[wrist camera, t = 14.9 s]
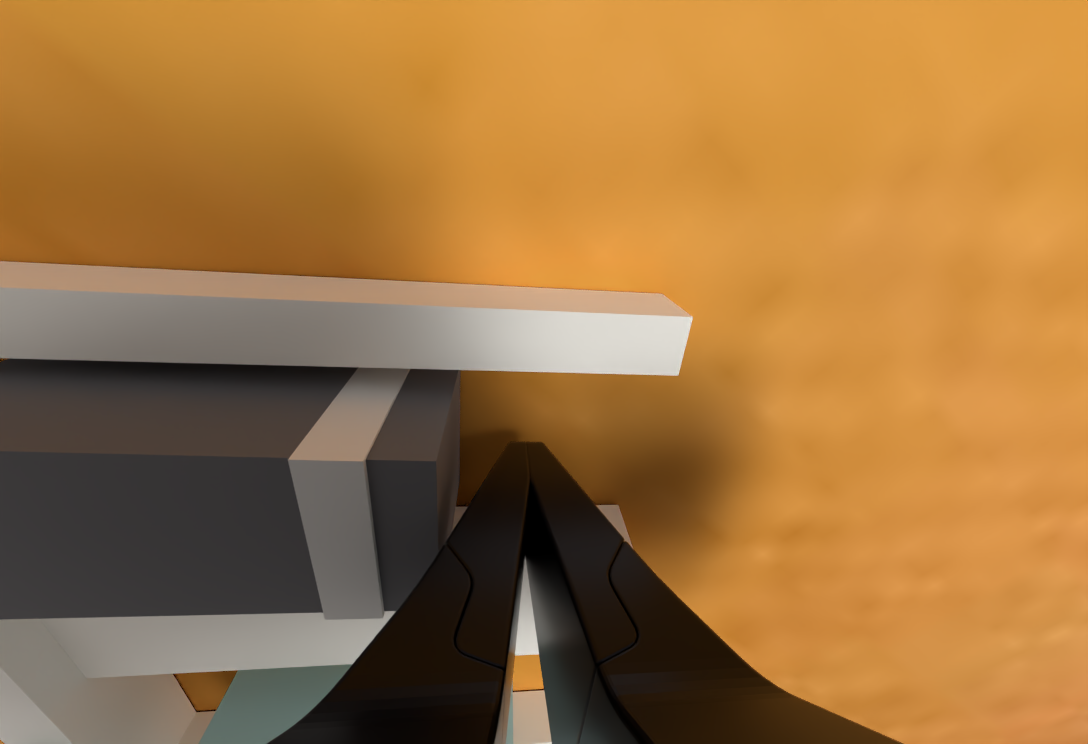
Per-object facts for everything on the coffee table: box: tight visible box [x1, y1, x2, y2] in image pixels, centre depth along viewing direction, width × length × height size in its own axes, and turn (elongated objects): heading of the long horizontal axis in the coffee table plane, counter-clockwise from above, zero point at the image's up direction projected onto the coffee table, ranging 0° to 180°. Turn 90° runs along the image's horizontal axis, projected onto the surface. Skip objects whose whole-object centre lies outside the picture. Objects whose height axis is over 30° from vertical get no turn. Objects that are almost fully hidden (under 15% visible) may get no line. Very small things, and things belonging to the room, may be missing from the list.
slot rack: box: [0, 261, 693, 744], centre depth 10 cm, size 17×15×3 cm
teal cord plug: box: [198, 664, 513, 744], centre depth 12 cm, size 4×8×4 cm, turn 85°
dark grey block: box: [0, 358, 460, 620], centre depth 8 cm, size 4×8×4 cm, turn 84°
